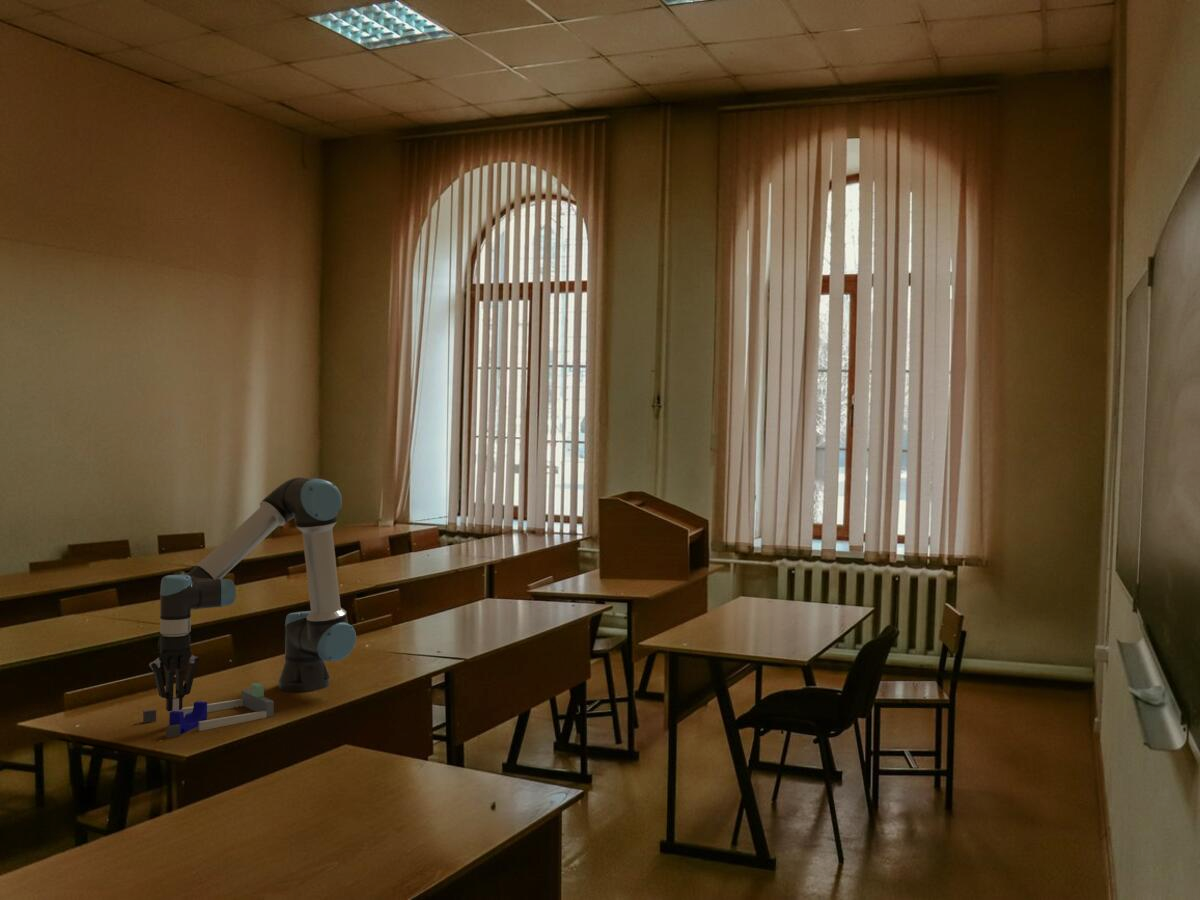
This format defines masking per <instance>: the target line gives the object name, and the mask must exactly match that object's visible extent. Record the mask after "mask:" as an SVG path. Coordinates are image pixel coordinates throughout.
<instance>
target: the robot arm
mask: <svg viewBox="0 0 1200 900" xmlns="http://www.w3.org/2000/svg"><path fill="white" fill-rule="evenodd" d="M342 501H343V498H342V494H341V492H340V490H339V488H338V487H337V486H336V484H334V483H333V482H330V481H329V480H325V479H322V478H312V477H311V478H309V477H308V478H307V477H306V478H305V477H294V478H291V479H288V480H285V481H284V482H283V483H281V484H280V485H278V486H277V487H276V488H275V489H274V490H272V491H271V492H270V493H269V494H267V496H266V497H265V498H264V499H262V500H261V501H260V502H259V508H257V509H256V510H255V512H254V513H252V514H251V515H250V516H249V517H248V518H247V519H246V520H245V521H244V522H242V523H241V525H239V526H238V527H237V528H236V529H235V530H233V532H232V533H230V534H229V536H226V538H225V539H224V540H223V541H222V542H221V543H219V544H218V545H217V547H215V548H214V549H213V550H212V551H210V553H208V555H206V557H204V558H203V559H202V560H201V561H200V562H199V563H198V564H197V565H195V566H194V567H193V569H191V570H190V571H189V572H185V573H181V574H169V575H165V576H163V577H162V578H161V581H160V592H159V596H160V597H159V598H160V601H159V602H160V603H159V604H160V606H159V607H160V618H159V625H160V626H159V634H161V635H159V653H158V655H157V658H156V659H154V660H153V661H150V662H149V663H148V666H149V668H150V669H151V670H152V673H153V677H154V682H155V686H156V690H157V693H158V696H159V697H161V698H162V699H165V710H166V711H167V712H169V713H170V712H172V711H179V710H181V709H182V708H183V701H184V699H183V698H185V696H186V695H189V694H190V693H191V690H192V687H193V683H194V678H195V674H196V671H197V667H198V666H199V663H200V662H201V658H200V657H199V656H196V655H193V653H192V650H191V634H190V632H191V631H192V630H191V628H192V627H191V623H192V622H191V621H192V620H191V619H192V610H200V609H201V610H202V609H212V608H213V609H214V608H223V607H228V606H232V605H233V604H234V602H235V600H236V598H237V597H236V596H237V588H236V585H235V582H234V581H233V580H232V579H230V578H224V577H226V575H227V574H228V573H229V572H230V571H231V570H233V569H234V568H235V566H237V565H238V564H239V563H240V562H241V561H242V560H244V558H245V557H246V556H248V555H249V554H250V553H251V552H252V551H253V550H254V549H255V548H256V547H257V546H258V545H259V544H261V542H262V541H263V540H265V539H266V538H267V537H268V536H269V535H270V534H271V533H272V532H273V531H275V529H276V528H278V527H282V526H285V525H286V523H288V522H289V521H290V520H292V519H294V520H295V527H296V528H297V530H299V531H301V534H302V542H303V551H304V552H303V553H304V561H305V568H306V579H307V587H308V595H309V606H310V610H306V611H296V612H291V613H288V614H287V615H286V617H285V621H284V622H285V623H284V630H285V633H284V635H285V637H284V642H285V643H284V649H285V650H284V663H283V667H282V669H281V672H280V675H279V678H278V686H277V687H278V689H279V690H281V691H285V692H291V693H304V692H314V691H318V690H322V689H325V688H327V687H329V686H330V685H331V684H330V683H331V679H330V674H329V671H328V668H327V665H326V662H339V661H342V660H344V659H346V658H347V657H348V656H349V655H350V654H351V652H352V651H353V650H354V648H355V646H356V642H357V634H356V631H355V629H354V627H353V626H352V625H351V624H350V623H348V615H347V613H348V612H347V610H345V609H344V608H343V607H341V597H340V590H339V579H338V569H337V559H336V551H335V543H334V532H333V528H334V526H335V525H336V524H337V522H338V519H337V515H338V514H339V511H341V508H342V504H343V503H342ZM188 662H189V665H188V667H187V670H186V674H185V666H186V665H187V664H188ZM161 664H162V666H163V668H164V669H165V671H164V672H165V684H164V680H163V676H162V671H161V669H160V668H161ZM174 674H175V676H174ZM184 674H185V676H184ZM174 677H175V682H174ZM184 677H185V679H184ZM174 684H175V696H174Z"/></svg>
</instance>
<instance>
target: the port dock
mask: <svg viewBox="0 0 1200 900" xmlns="http://www.w3.org/2000/svg"><path fill="white" fill-rule="evenodd" d="M274 705H275V701H274V700H272V699H269V698H268V697H265V686H264V684H262V683H260V682H259V683H258V682H257V683H251V685H250V689H249V688H247V689H242V690H241V698H239V699H232V700H226V701H219V702H213V703H212V702H211V703H207V714H208V713H213V712H218V711H219V712H220V711H223V710H228V709H234V707H235V708H240V707H244V708H246V707H247V709H248V708H249V709H248V710H250V709H251V711H252V710H253V712H247V713H242V714H241V713H240V714H236V715H230V716H225V717H219V718H218V717H217V718H212V719H211V718H210V719H207V720H205V721H198V727H197V728H198V730H197V731H199V732H202V731H208V730H211V729H217V728H221V727H226V726H232V725H237V724H240V723H241V724H242V723H247V722H251V721H256V720H261V719H267V718H272V717H274V707H275V706H274ZM239 706H240V707H239ZM193 707H194V705H193V706H186V707H182V709H181V710H179V711H180V712H183V714H184V717H185V716H186V714H188V713H190V712H192V711H193ZM254 711H255V712H254ZM271 716H272V717H271ZM266 717H267V718H266Z"/></svg>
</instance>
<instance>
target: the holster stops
mask: <svg viewBox="0 0 1200 900" xmlns="http://www.w3.org/2000/svg"><path fill="white" fill-rule="evenodd" d="M153 722H157V709H149V710H143V711H142V723H143V724H147V723H153ZM165 732H166V735H165V736H166V739H167V740H169V739H173V738H174V739H175V738H178V737H181V735H180V725H179V724H176V725H170V726H169V725H166V731H165Z"/></svg>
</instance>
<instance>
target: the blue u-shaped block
mask: <svg viewBox="0 0 1200 900" xmlns="http://www.w3.org/2000/svg"><path fill="white" fill-rule="evenodd" d="M207 704H208V701H199V700H196V701H193V706H194V707H193V711H192V712H190V713H188V714H186V716H185V717H184V714H183V712H180V711H172V712H170V711H169V719H168V720H169V721H168V722H169V725H168V726H170V725H176V724H179V725H180V736H181V735H182V734H186V733H188V732H189V731H191V730H193V729H195V728H198V721H205V720H208V713H207Z"/></svg>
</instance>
